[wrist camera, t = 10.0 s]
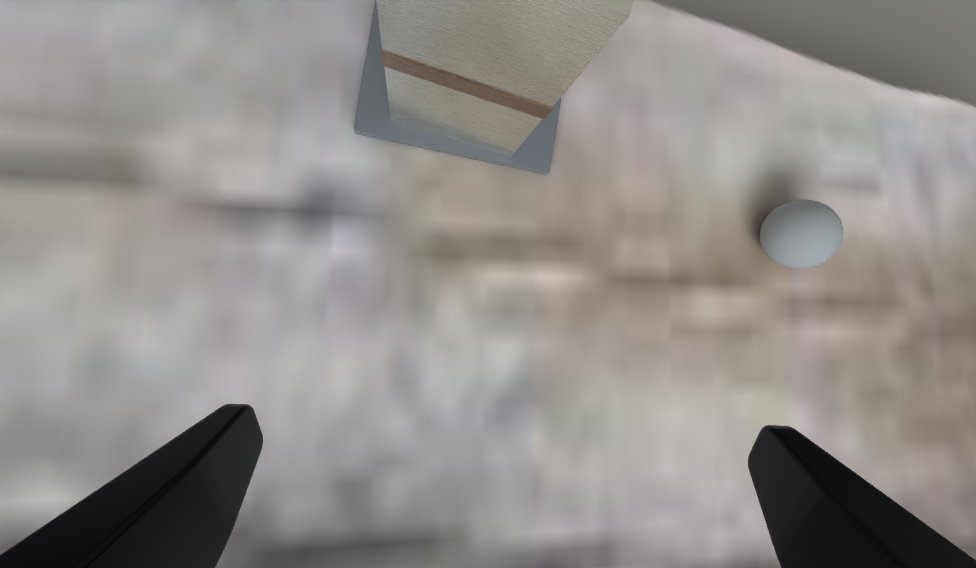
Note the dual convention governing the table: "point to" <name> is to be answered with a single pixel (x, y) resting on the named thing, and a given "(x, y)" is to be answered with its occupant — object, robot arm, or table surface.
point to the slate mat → (379, 125)
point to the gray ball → (801, 234)
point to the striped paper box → (488, 62)
